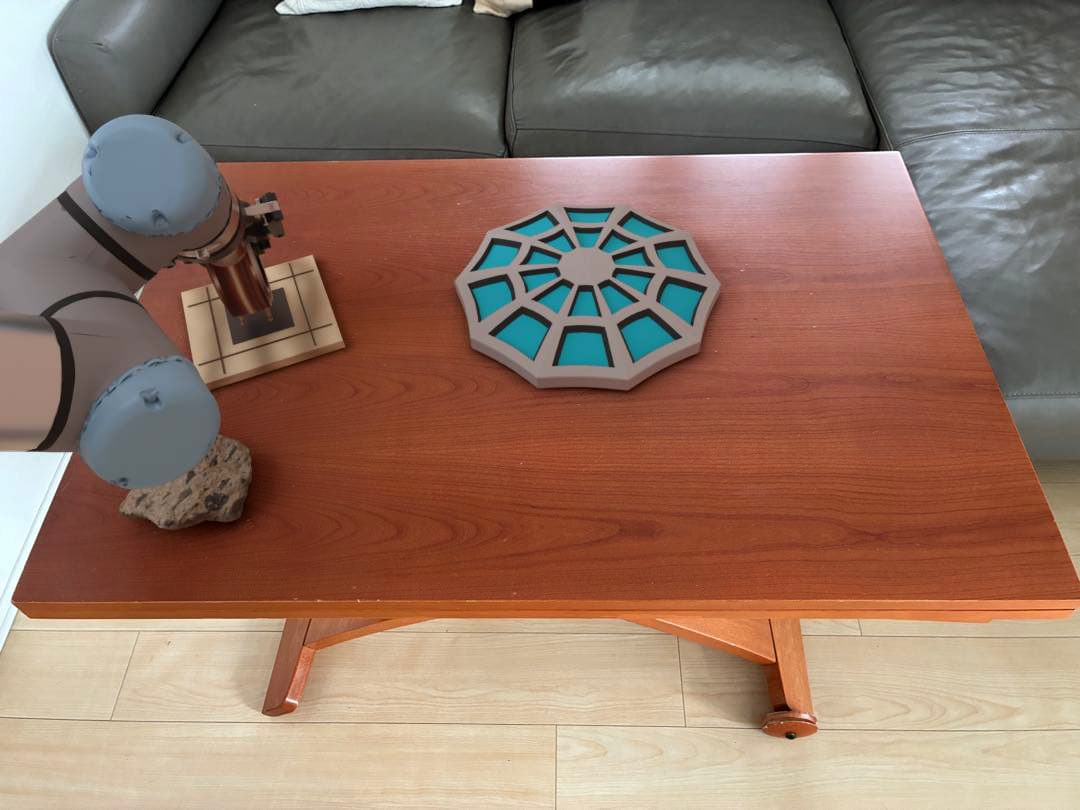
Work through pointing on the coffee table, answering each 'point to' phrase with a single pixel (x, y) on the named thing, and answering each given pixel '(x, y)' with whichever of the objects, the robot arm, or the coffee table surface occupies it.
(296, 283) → the game board
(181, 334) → the coffee table surface
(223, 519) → the rock
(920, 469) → the coffee table surface
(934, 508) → the coffee table surface
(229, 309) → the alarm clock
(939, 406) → the coffee table surface
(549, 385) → the decorative platform
